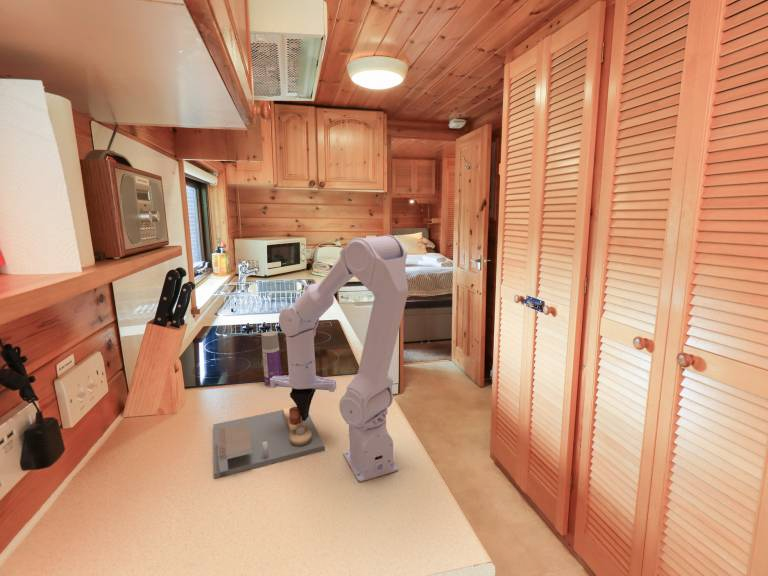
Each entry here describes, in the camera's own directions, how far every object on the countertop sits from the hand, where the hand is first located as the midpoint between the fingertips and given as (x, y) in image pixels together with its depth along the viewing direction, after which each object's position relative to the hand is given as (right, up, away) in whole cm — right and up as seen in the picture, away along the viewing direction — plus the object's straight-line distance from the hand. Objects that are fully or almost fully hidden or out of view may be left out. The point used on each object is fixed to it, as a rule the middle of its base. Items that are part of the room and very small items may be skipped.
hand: (305, 418), depth 87 cm
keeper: (-12, -5, -9) cm, 16 cm away
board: (-8, -4, -2) cm, 9 cm away
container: (-14, +1, +26) cm, 30 cm away
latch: (-2, -2, +1) cm, 3 cm away
